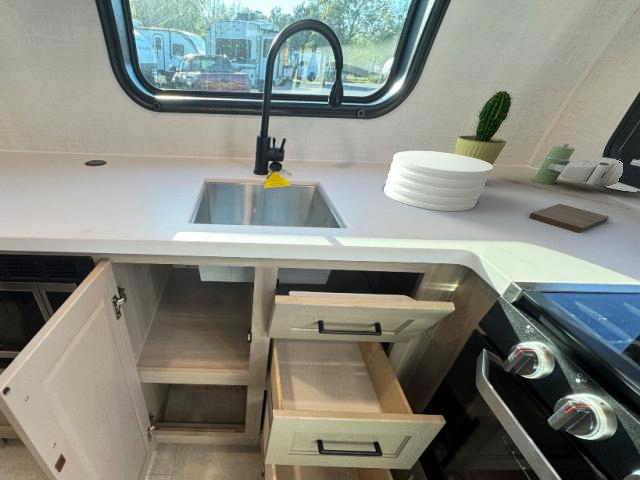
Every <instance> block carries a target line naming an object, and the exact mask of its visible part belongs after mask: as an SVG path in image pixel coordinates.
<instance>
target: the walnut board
mask: <svg viewBox="0 0 640 480" xmlns="http://www.w3.org/2000/svg"><path fill="white" fill-rule="evenodd" d="M528 218H529V219H530V220H531V219H532V220H534V221H538V222H542V223H545V224H548V225H552V226H555V227H558V228H561V229H564V230H568V231H571V232H574V233H577V234H581V233H582V232H585V231H588V230H589V229H592V228H594V227H596V226H599V225H601V224H604V223H606V222H607V221H608V220H609V219H610V216H609V215H605V214H600V213H596V212H593V211H590V210H585V209H582V208H577V207H574V206H570V205H567V204H563V203H557V204H554V205H552V206H549V207H545V208H543V209H539V210H536V211H533V212H531V213H530V215H529V216H528Z"/></svg>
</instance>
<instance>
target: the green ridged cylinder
mask: <svg viewBox="0 0 640 480" xmlns="http://www.w3.org/2000/svg"><path fill="white" fill-rule="evenodd" d="M575 150H576V148H575V147H572V146H570V143H567V142H562V143H561V145H552V147H551V148H550V150H549V152H548V154H547V155H546V156H545V159H544V161H543V163H542V165H541V166H540V168H539V169H538V171H537V173H536V175H535V177H534V179H533V181H534V182H536V183H540V184H544V185H554V184H555V183H556V181H557V180H558V179H559V177H560V176H561V173H562V172H558V171H556V170H552V169H548V167H549V165H550V164H551V163H554V164H558V165H566V163H567V162H568V161H570V158H571V157H572V156H573V154H574V152H575Z"/></svg>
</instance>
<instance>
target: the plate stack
mask: <svg viewBox="0 0 640 480" xmlns="http://www.w3.org/2000/svg"><path fill="white" fill-rule="evenodd" d="M493 169H494V166H493V165H491V164H490V163H488V162H485V161H483V160H480V159H476V158H472V157H468V156H463V155H457V154H454V153H451V152H443V151H431V150H405V151H398V152H396V153H394V154H393V158H392V162H391V165H390V170H389V171H388V177H387V178H386V182H385V183H386V184H385V186H384V188H383V192H384V194H385V195H386V196H387V197H388V198H390V199H392V200H394V201H396V202H399V203H401V204H405V205H408V206H412V207H415V208H420V209H425V210H431V211H441V212H442V211H443V212H463V211H468V210H471V209H473V208H475V207H476V204H477V203H478V199H479V198H480V197H481V194H482V192H483V190H484V188H485V186H486V182H488V180H489V177H490V174H491V173H492V171H493Z"/></svg>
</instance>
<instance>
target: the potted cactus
mask: <svg viewBox="0 0 640 480" xmlns="http://www.w3.org/2000/svg"><path fill="white" fill-rule="evenodd" d="M513 99H514V98H513V94H511V93H508V91H506V90H495V92H494V93H493V94H492V96H491V95H489V99H488V100H487V101H486V102H485V103H484V102H482V104H484V105H483V107H481V110H479V112H478V113H477V117H478V121H476V124H477V126H476V127H475V130H474V133H475V134H474V135H473V134H472V135H468V134H467V135H458V136H457V140H456V143H455V147H454V151H453V152H454V153H453V154H457V155H463V156H468V157H472V158H476V159H480V160H483V161H485V162H488V163H490V164H491V165H492V166H493V165H494V163H495V162H496V161H497V159H498V157H499V156H500V155H501V152H502V151H503V149H505V146H506V144H508V141H507V140H505V139H501V138H497V137H495V135H496V133H497V132H500V129H501V126H503V123H504V124H505V121H507V120H508V121H509V119H511V118H512V117H511V116H510V111H512V109H513V107H512V105H513V102H514V101H513Z"/></svg>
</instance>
